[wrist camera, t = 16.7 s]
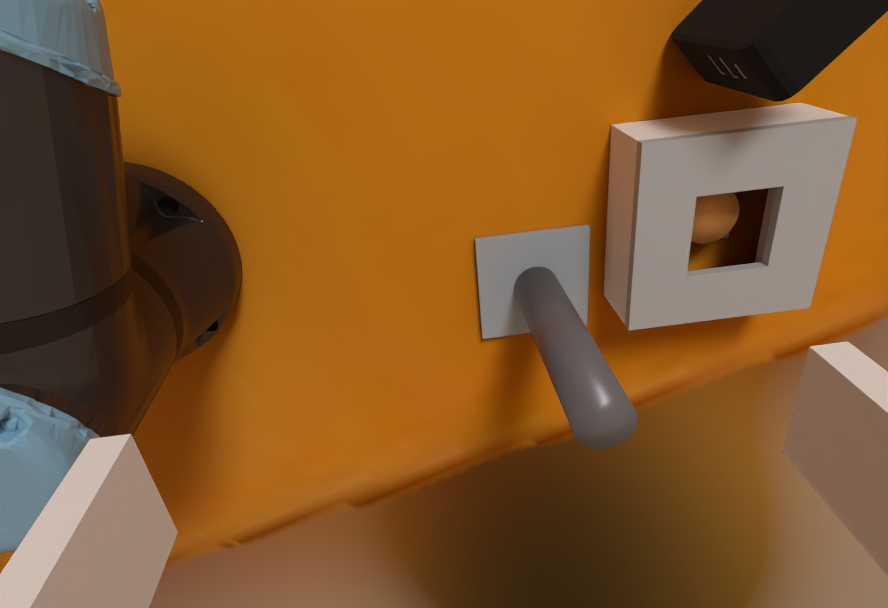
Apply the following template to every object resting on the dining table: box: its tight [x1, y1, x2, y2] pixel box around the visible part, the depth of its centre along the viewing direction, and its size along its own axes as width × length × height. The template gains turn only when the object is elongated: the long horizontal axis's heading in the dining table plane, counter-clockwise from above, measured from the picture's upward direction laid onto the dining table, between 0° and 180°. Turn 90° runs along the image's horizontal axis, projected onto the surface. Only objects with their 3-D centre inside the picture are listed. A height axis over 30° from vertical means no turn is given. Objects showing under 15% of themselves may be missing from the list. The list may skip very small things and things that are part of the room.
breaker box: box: [603, 103, 857, 330], centre depth 42 cm, size 14×14×6 cm
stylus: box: [514, 266, 638, 450], centre depth 39 cm, size 4×4×17 cm
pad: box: [474, 224, 590, 339], centre depth 47 cm, size 9×9×1 cm
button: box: [691, 193, 739, 244], centre depth 44 cm, size 4×4×2 cm
